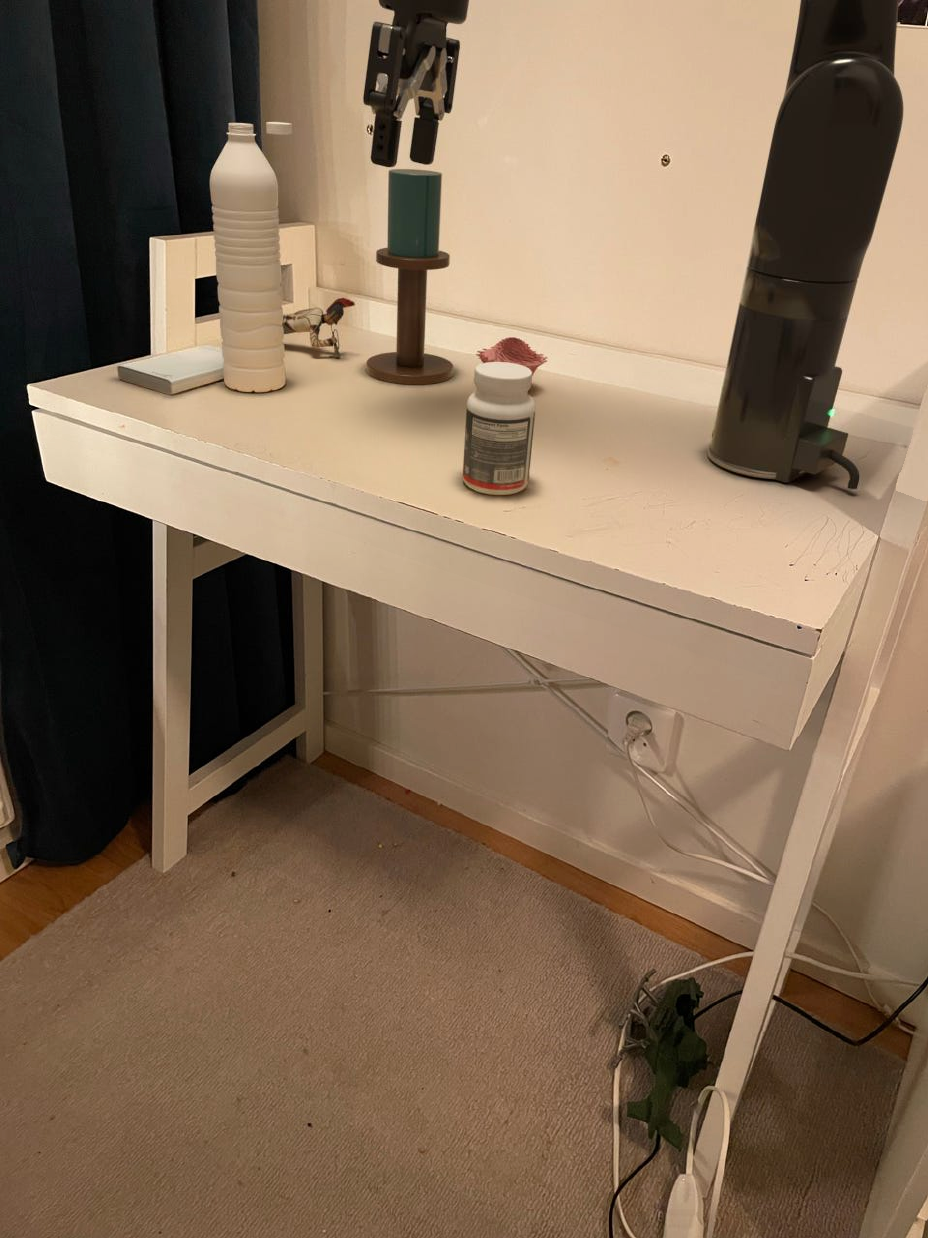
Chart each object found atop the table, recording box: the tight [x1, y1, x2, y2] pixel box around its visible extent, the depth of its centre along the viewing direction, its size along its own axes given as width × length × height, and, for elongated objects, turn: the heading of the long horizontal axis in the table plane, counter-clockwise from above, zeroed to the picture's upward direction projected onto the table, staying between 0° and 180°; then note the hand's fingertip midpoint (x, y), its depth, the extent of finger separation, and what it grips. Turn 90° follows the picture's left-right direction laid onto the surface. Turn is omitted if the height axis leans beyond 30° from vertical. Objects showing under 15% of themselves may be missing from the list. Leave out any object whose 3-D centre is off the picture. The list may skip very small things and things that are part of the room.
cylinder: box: [386, 168, 443, 258], centre depth 99 cm, size 6×6×8 cm
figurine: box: [282, 297, 356, 359], centre depth 112 cm, size 6×4×15 cm
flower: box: [475, 336, 548, 377], centre depth 103 cm, size 8×8×6 cm
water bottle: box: [209, 121, 293, 393], centre depth 95 cm, size 9×6×25 cm
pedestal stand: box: [365, 247, 454, 386], centre depth 104 cm, size 10×10×13 cm
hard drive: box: [116, 344, 224, 395], centre depth 101 cm, size 2×8×12 cm
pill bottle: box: [462, 362, 536, 496], centre depth 78 cm, size 6×6×10 cm
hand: (402, 164), depth 85 cm, fingers open, 8 cm apart
